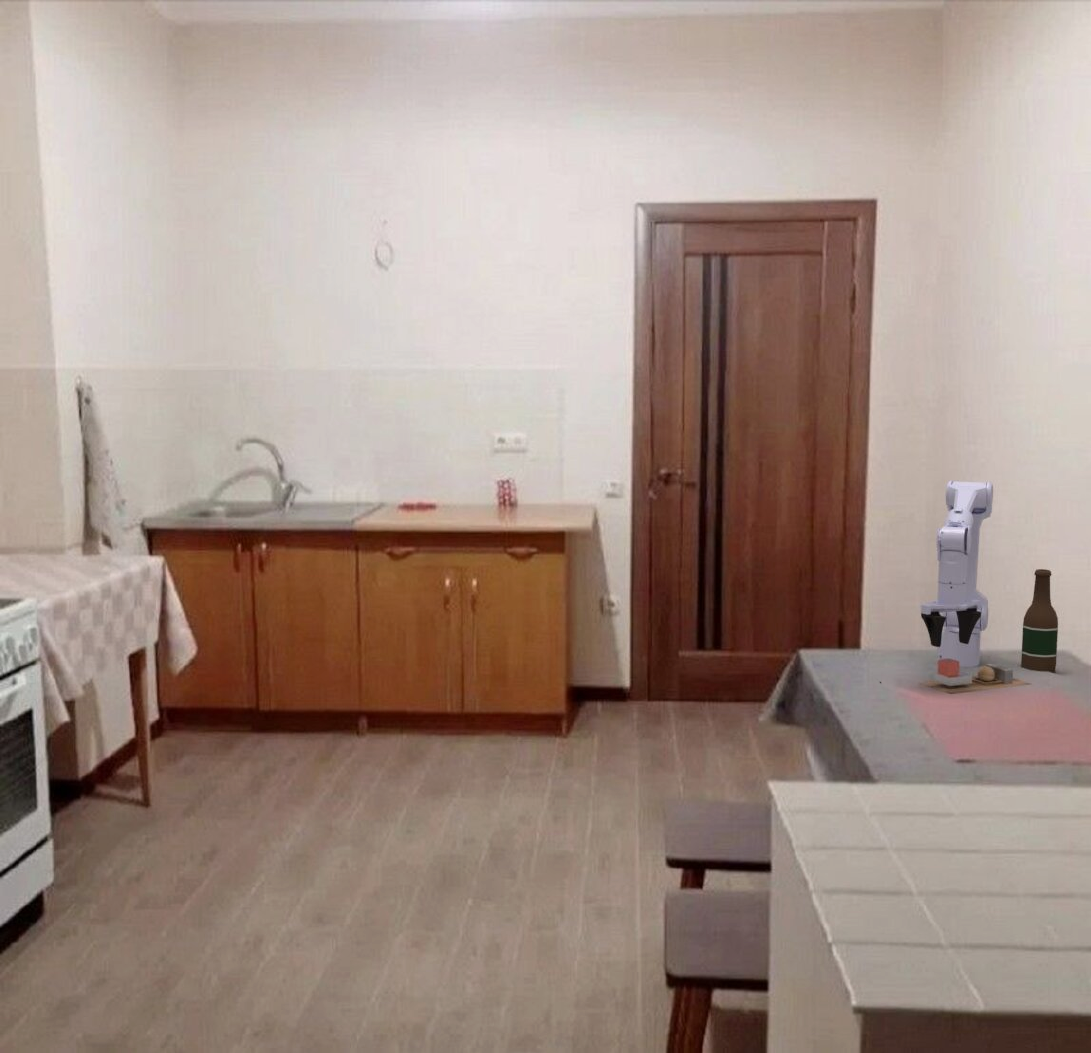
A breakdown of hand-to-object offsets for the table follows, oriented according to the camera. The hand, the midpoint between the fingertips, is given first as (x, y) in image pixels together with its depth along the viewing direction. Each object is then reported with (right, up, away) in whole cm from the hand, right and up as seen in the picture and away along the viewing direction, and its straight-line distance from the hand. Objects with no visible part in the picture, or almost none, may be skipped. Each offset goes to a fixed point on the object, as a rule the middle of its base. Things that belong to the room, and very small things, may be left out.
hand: (949, 644), depth 238 cm
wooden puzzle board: (+7, -10, +4) cm, 13 cm away
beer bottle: (+27, -9, +18) cm, 34 cm away
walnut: (+10, -9, +5) cm, 14 cm away
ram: (+1, -8, +1) cm, 9 cm away
